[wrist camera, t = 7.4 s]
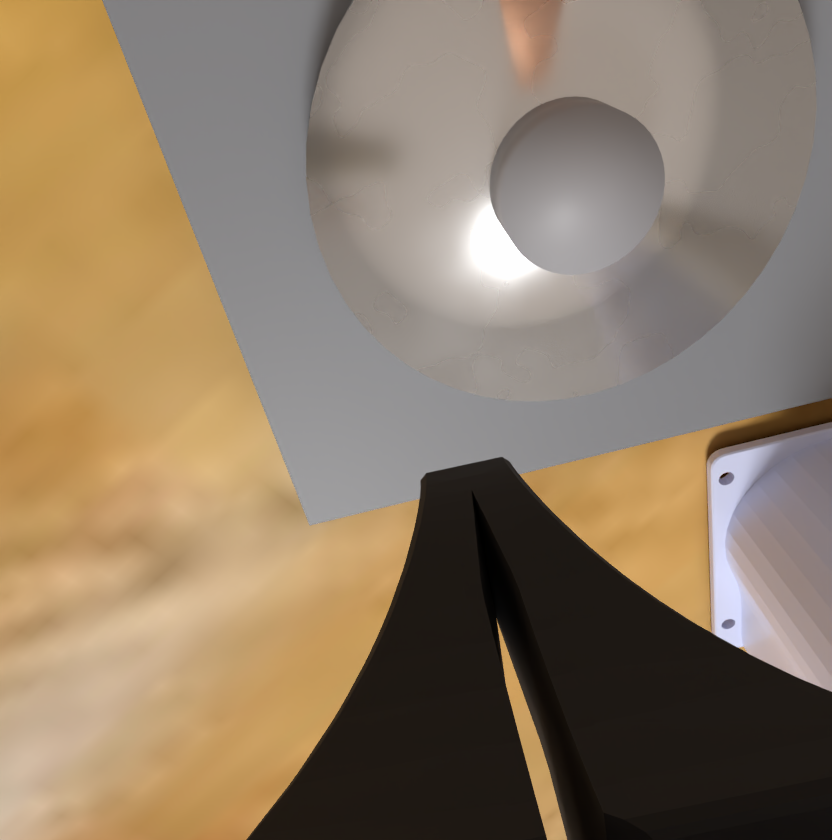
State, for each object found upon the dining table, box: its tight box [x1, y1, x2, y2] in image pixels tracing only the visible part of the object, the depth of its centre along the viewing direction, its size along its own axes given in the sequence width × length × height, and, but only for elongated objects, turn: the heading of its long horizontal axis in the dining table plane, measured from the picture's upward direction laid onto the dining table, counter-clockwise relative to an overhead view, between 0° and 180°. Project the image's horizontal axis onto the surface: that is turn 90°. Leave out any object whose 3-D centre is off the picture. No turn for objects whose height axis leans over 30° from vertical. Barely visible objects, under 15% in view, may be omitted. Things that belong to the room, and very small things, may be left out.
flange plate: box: [306, 0, 817, 401], centre depth 16 cm, size 12×15×4 cm
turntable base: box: [102, 0, 832, 525], centre depth 18 cm, size 18×18×4 cm
